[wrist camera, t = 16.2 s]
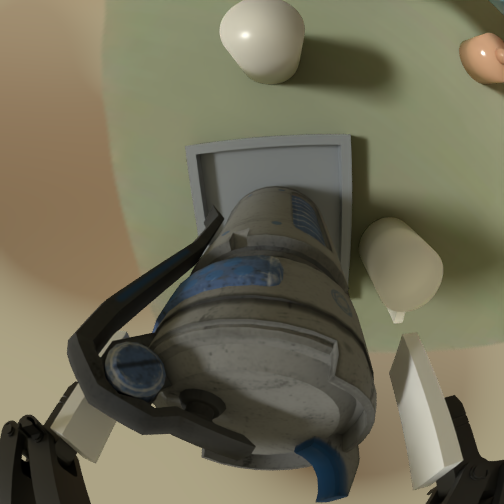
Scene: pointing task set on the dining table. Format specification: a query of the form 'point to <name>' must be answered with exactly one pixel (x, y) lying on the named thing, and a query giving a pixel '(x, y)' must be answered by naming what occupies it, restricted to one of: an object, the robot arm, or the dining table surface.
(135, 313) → the beverage bottle
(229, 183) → the tray
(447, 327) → the dining table surface
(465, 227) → the dining table surface
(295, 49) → the cream rounded capsule
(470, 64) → the terracotta sugar bowl
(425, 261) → the white mug
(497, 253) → the dining table surface
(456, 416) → the robot arm
